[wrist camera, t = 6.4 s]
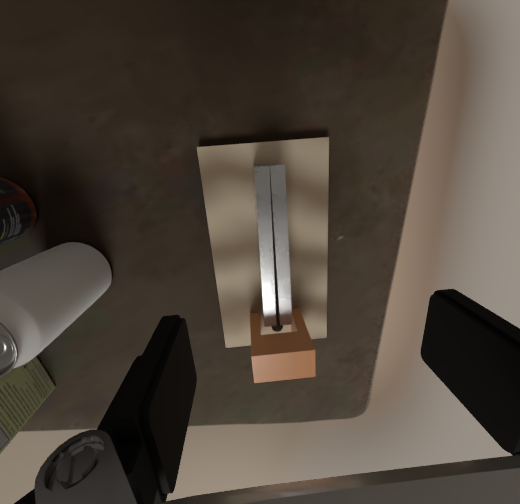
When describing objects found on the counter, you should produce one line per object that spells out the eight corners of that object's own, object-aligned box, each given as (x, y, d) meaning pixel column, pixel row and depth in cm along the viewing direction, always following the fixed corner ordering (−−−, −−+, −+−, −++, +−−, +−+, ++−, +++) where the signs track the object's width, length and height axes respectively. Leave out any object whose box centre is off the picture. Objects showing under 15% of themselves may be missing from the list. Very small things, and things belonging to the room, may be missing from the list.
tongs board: (324, 332, 32) (333, 352, 28) (226, 342, 31) (224, 363, 28) (325, 138, 24) (338, 134, 21) (198, 147, 24) (191, 145, 21)
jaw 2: (286, 306, 29) (292, 324, 25) (276, 307, 29) (280, 325, 25) (279, 164, 24) (285, 164, 20) (266, 165, 24) (269, 165, 20)
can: (112, 301, 29) (26, 392, 17) (49, 291, 28) (-84, 379, 16) (115, 247, 27) (21, 310, 15) (48, 234, 26) (-105, 291, 14)
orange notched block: (299, 330, 30) (315, 376, 24) (252, 335, 30) (254, 383, 23) (299, 308, 29) (315, 349, 22) (249, 313, 29) (251, 356, 22)
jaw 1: (272, 307, 29) (276, 325, 25) (262, 308, 29) (264, 326, 25) (265, 165, 24) (269, 165, 20) (252, 166, 24) (254, 166, 20)
